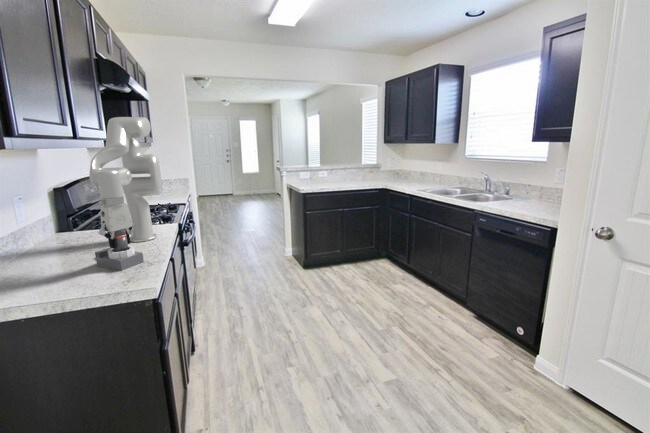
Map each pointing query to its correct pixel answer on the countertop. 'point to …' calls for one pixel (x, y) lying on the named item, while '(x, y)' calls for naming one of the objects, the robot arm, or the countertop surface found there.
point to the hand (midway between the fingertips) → (120, 245)
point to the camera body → (118, 258)
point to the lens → (121, 241)
